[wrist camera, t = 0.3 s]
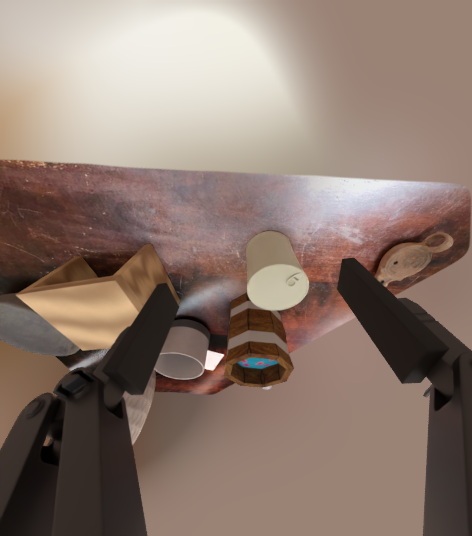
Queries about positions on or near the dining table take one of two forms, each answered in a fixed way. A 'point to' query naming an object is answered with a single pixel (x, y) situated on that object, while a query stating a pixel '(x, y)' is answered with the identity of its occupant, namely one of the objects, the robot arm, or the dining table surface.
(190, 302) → the dining table surface
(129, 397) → the vase
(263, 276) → the can
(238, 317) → the mug
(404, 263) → the oil lamp
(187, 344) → the planter
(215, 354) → the white paper sheet
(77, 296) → the shelf
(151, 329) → the robot arm
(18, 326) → the bowl
